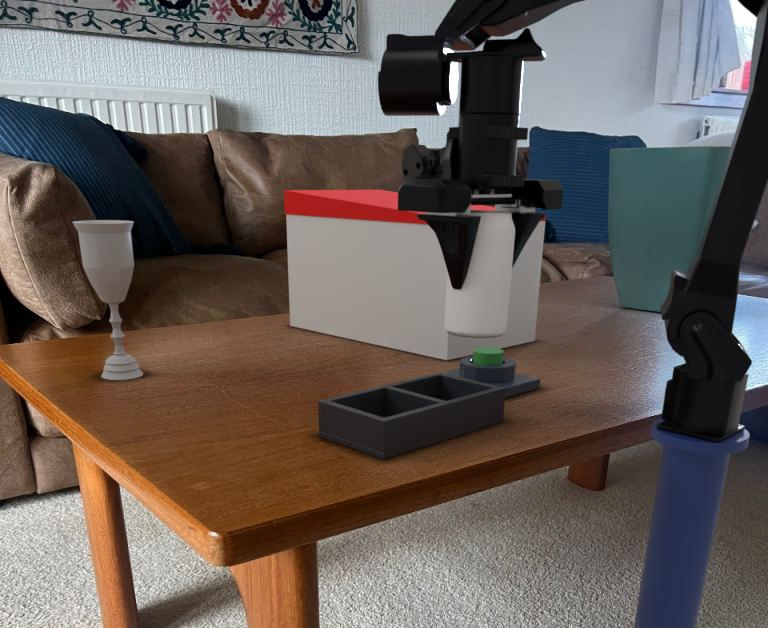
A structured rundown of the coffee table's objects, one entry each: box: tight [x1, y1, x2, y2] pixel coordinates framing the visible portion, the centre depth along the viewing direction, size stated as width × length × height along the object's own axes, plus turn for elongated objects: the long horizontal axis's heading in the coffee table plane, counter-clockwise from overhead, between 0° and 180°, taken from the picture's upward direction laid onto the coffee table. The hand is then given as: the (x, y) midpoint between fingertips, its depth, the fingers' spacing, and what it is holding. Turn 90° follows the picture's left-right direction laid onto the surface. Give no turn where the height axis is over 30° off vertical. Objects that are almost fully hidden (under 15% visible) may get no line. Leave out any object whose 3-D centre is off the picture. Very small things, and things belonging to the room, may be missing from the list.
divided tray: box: [317, 372, 506, 460], centre depth 78 cm, size 9×17×4 cm, turn 134°
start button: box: [472, 347, 505, 366], centre depth 93 cm, size 4×4×2 cm
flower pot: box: [607, 145, 731, 313], centre depth 146 cm, size 20×20×28 cm
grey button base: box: [441, 355, 541, 399], centre depth 94 cm, size 10×8×3 cm
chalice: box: [72, 219, 144, 381], centre depth 94 cm, size 7×7×18 cm
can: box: [444, 210, 515, 338], centre depth 79 cm, size 6×6×12 cm
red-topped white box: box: [283, 189, 547, 361], centre depth 121 cm, size 21×35×21 cm, turn 45°
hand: (478, 286), depth 80 cm, fingers closed on can, 6 cm apart
